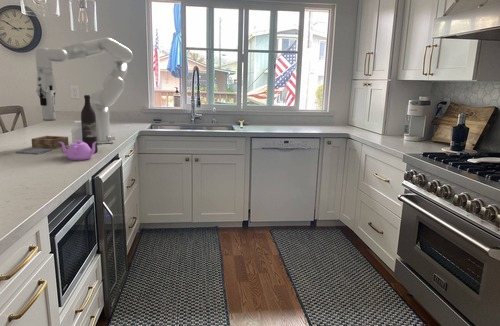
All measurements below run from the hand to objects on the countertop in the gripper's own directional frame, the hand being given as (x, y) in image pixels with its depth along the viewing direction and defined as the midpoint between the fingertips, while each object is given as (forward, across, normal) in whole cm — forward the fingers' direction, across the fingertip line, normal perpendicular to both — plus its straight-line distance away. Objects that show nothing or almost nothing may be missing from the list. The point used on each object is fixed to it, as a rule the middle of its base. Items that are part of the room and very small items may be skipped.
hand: (47, 104), depth 200 cm
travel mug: (+9, 0, 0) cm, 9 cm away
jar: (+24, +1, -19) cm, 30 cm away
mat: (+23, -15, -1) cm, 28 cm away
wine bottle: (+24, -10, -29) cm, 39 cm away
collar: (+23, 0, 0) cm, 23 cm away
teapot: (+24, -25, -31) cm, 46 cm away
